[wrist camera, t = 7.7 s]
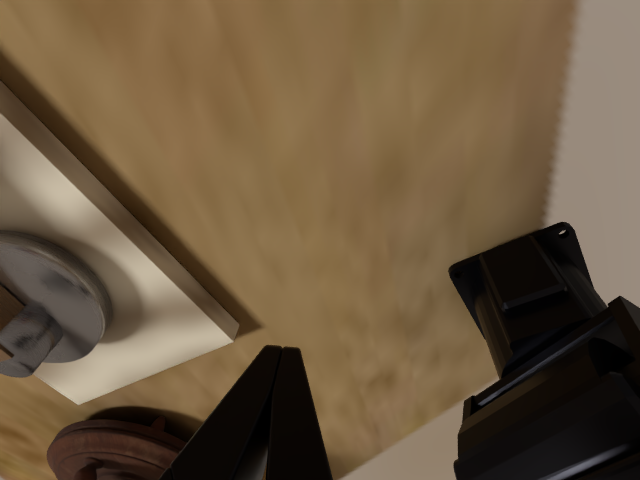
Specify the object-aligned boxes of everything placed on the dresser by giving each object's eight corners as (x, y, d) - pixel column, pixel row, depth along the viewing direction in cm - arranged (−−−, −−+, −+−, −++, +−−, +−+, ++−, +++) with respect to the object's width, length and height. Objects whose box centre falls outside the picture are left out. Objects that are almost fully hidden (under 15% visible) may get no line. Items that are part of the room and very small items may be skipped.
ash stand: (239, 324, 26) (232, 345, 25) (89, 388, 32) (76, 408, 31) (-78, 0, 17) (-121, 2, 15) (-213, 173, 23) (-253, 186, 21)
